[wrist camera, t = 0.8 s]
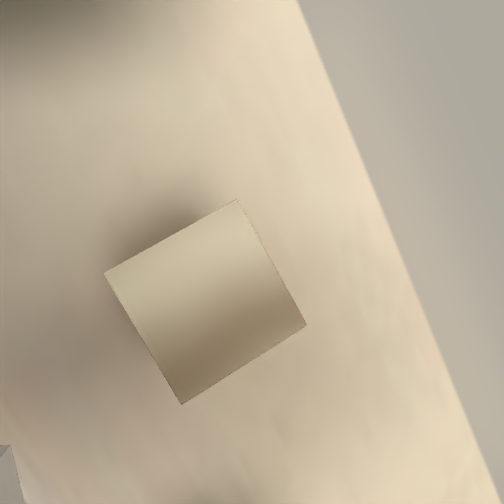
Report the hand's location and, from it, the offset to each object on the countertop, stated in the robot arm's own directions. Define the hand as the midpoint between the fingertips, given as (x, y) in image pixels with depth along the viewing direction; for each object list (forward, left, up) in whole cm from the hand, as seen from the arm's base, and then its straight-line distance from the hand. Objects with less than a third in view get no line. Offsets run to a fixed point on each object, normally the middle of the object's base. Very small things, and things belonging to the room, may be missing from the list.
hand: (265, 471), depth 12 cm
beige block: (-4, +1, -14) cm, 14 cm away
